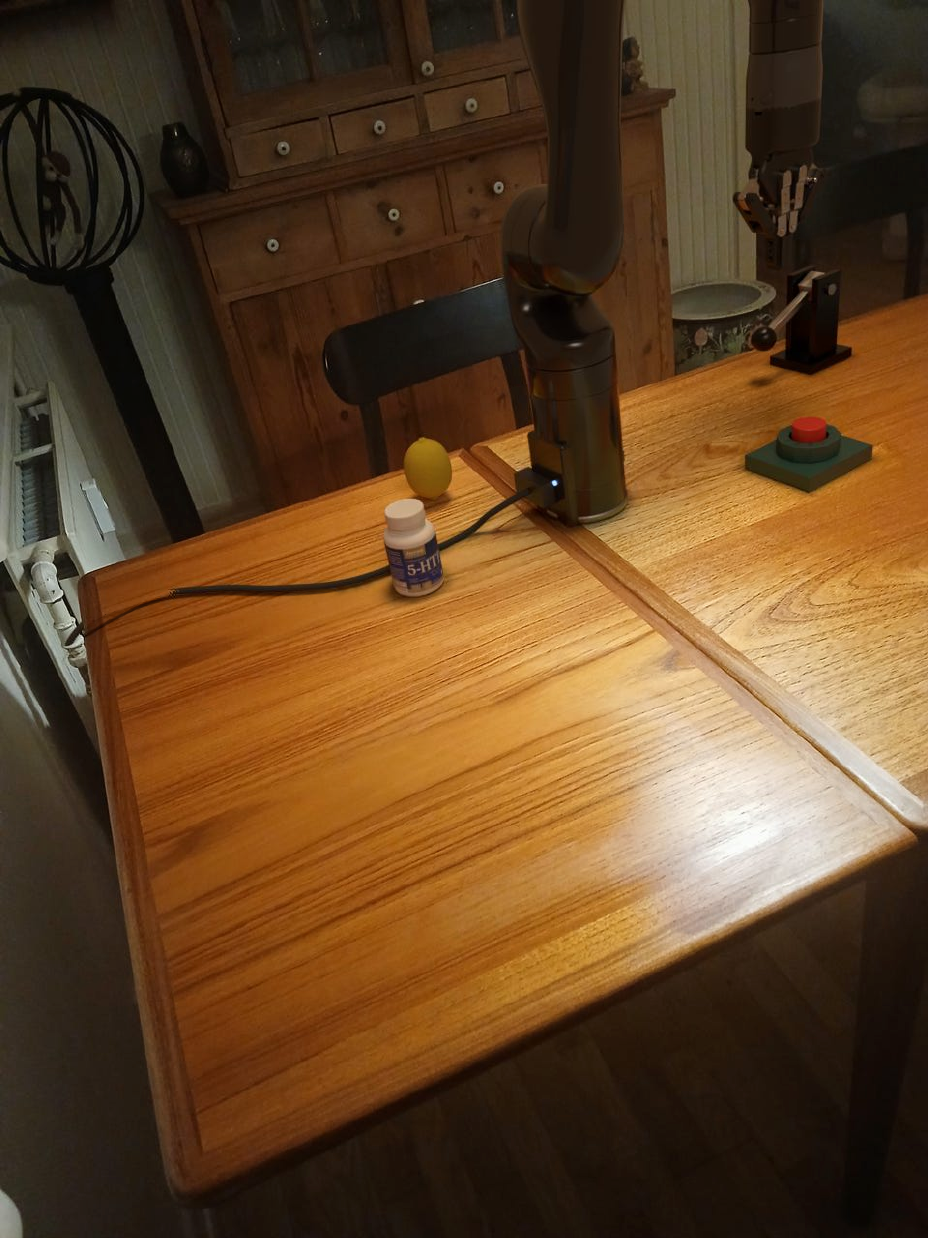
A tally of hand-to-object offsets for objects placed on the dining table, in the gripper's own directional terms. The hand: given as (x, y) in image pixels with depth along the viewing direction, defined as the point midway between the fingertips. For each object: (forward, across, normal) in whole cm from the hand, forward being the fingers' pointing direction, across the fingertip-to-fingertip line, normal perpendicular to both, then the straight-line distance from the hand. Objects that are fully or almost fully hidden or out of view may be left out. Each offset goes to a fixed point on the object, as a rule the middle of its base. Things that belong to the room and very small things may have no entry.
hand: (778, 267), depth 109 cm
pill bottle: (+18, +52, 0) cm, 56 cm away
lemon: (+18, +41, -15) cm, 48 cm away
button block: (+18, +9, +12) cm, 23 cm away
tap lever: (+11, -12, -7) cm, 18 cm away
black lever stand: (+17, -16, -7) cm, 24 cm away
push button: (+14, +9, +12) cm, 21 cm away
